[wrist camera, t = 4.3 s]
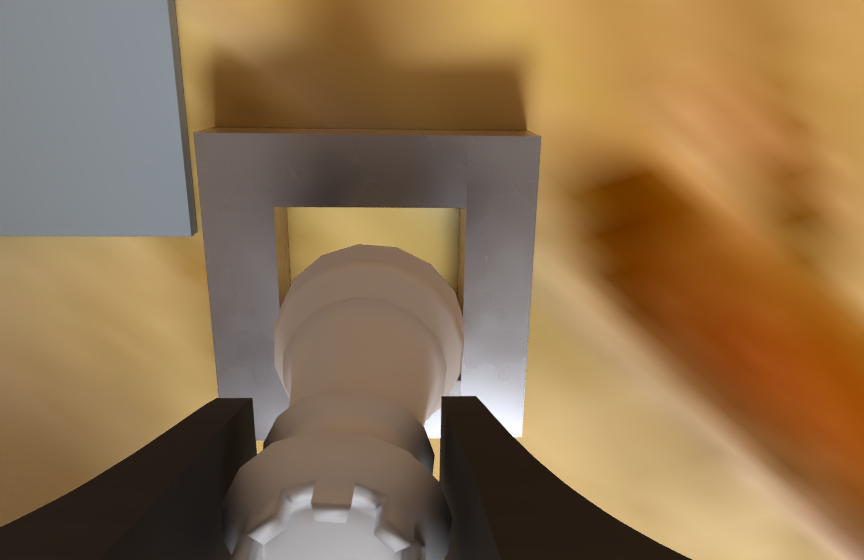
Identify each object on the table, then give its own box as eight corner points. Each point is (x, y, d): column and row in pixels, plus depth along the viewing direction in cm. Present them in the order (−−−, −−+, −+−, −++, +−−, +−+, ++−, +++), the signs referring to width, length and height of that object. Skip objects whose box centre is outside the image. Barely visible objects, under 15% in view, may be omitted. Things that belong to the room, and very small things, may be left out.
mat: (197, 231, 20) (191, 236, 19) (-103, 230, 19) (-118, 235, 19) (165, -94, 17) (157, -100, 17) (-185, -104, 17) (-205, -111, 16)
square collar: (511, 406, 22) (521, 436, 20) (238, 409, 22) (222, 440, 20) (527, 130, 19) (541, 136, 18) (214, 127, 19) (193, 132, 17)
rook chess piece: (495, 357, 16) (559, 632, 8) (342, 431, 17) (277, 746, 9) (408, 204, 15) (392, 370, 7) (245, 291, 15) (74, 529, 8)
